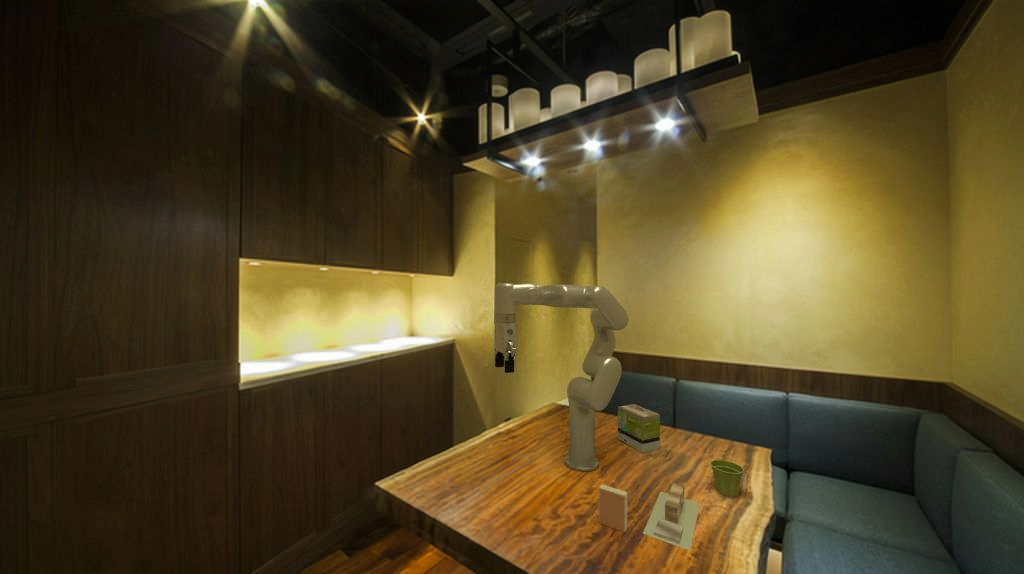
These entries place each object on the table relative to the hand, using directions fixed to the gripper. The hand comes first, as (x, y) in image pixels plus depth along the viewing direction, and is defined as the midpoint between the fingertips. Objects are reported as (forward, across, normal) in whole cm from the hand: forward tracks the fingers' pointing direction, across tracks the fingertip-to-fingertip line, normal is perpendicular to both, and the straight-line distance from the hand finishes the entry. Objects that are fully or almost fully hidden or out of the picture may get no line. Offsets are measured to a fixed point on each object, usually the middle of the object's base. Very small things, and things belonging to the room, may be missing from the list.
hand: (504, 369), depth 119 cm
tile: (+37, -33, -20) cm, 53 cm away
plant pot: (+37, -31, -65) cm, 81 cm away
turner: (+36, -36, -38) cm, 64 cm away
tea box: (+37, +9, -65) cm, 75 cm away
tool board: (+37, -36, -38) cm, 64 cm away
